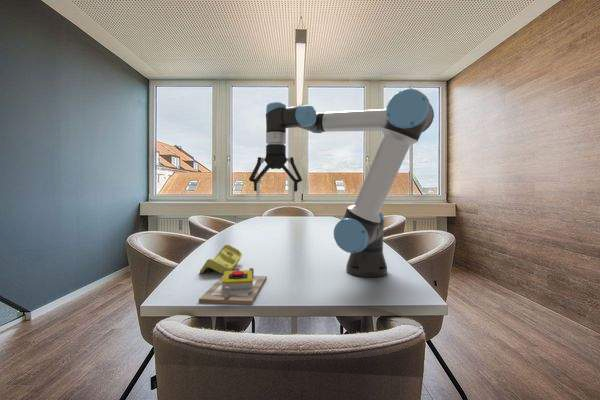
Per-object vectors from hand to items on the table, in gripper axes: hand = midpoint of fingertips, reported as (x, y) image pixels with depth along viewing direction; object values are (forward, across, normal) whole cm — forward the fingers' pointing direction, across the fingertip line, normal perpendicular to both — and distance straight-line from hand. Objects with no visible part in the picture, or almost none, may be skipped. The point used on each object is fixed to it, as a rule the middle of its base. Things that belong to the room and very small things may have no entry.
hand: (275, 200), depth 122 cm
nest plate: (+27, -9, -26) cm, 38 cm away
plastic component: (+27, -20, -2) cm, 34 cm away
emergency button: (+26, -8, -25) cm, 37 cm away
